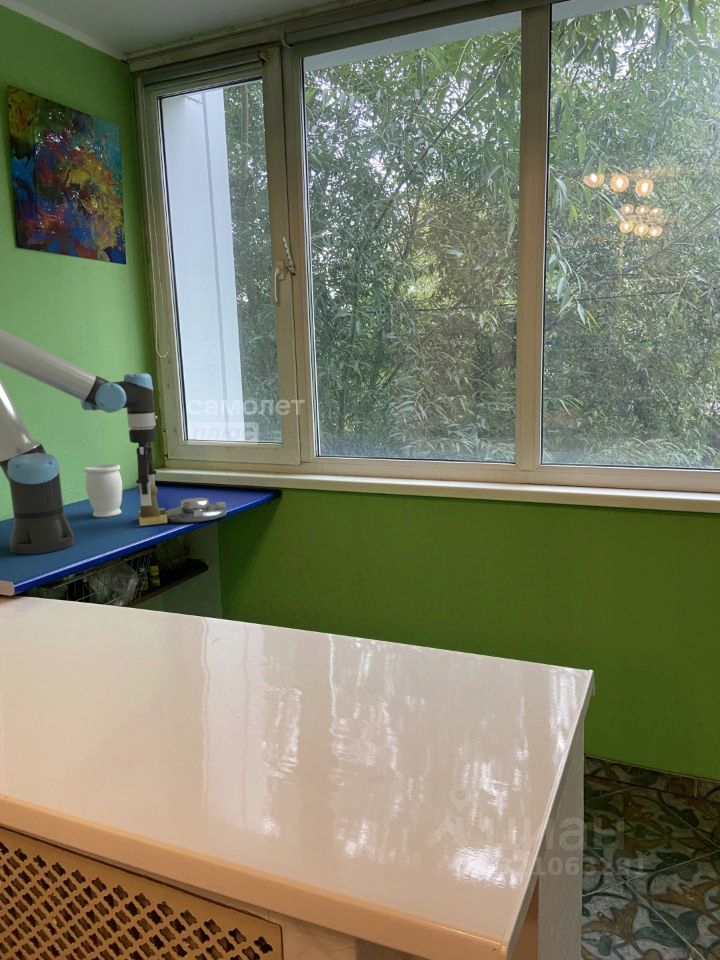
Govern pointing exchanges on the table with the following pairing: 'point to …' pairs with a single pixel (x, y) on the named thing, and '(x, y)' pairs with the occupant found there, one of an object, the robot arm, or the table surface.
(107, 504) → the jar
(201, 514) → the grey disc with block
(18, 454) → the robot arm
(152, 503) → the cork
